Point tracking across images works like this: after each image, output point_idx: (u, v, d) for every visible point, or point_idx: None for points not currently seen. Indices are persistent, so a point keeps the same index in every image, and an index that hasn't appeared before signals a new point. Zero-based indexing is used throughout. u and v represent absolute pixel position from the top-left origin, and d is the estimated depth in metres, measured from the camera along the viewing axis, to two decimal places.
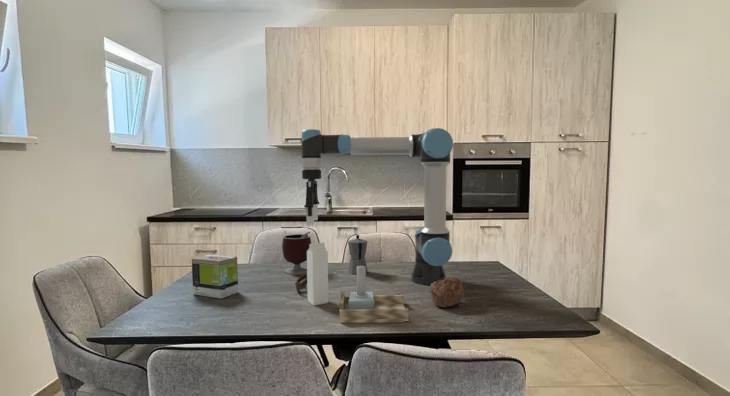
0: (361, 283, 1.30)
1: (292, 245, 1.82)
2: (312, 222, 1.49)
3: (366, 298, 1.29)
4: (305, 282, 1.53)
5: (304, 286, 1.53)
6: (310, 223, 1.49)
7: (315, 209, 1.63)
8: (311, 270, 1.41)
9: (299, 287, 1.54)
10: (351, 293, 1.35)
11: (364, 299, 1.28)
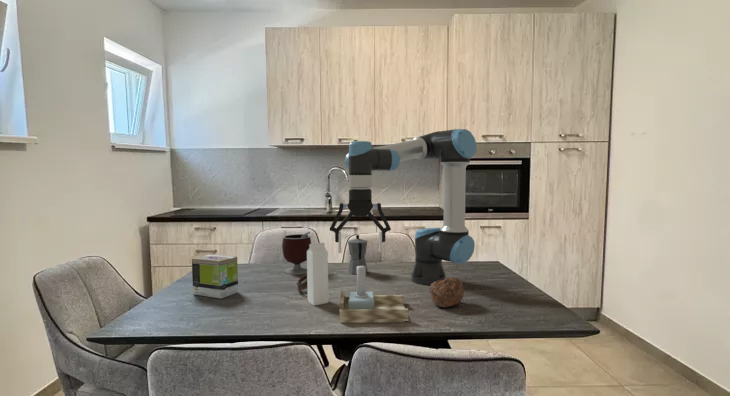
0: (361, 283, 1.30)
1: (292, 245, 1.82)
2: None
3: (366, 298, 1.29)
4: None
5: (306, 286, 1.52)
6: None
7: (379, 238, 1.30)
8: (311, 270, 1.41)
9: (301, 287, 1.53)
10: (351, 293, 1.35)
11: (364, 299, 1.28)
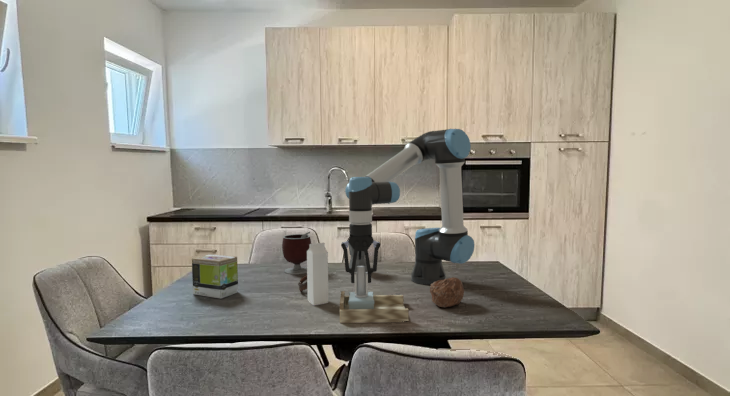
0: (361, 283, 1.30)
1: (292, 245, 1.82)
2: None
3: (366, 298, 1.29)
4: None
5: None
6: None
7: None
8: (311, 270, 1.41)
9: (302, 288, 1.53)
10: (351, 293, 1.35)
11: (364, 299, 1.28)
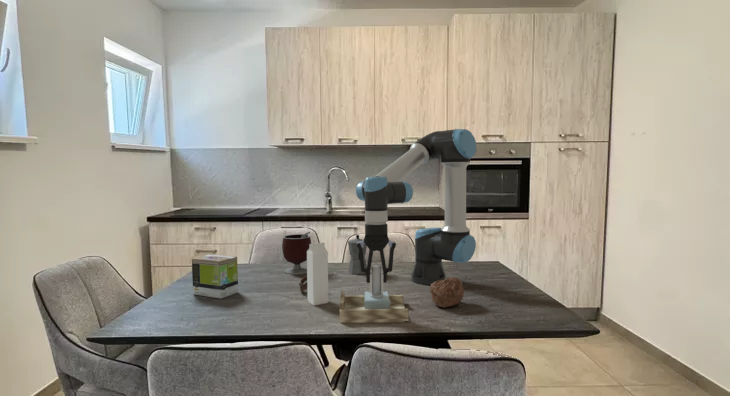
0: (376, 283, 1.30)
1: (292, 245, 1.82)
2: (370, 290, 1.31)
3: (382, 298, 1.29)
4: None
5: None
6: None
7: (381, 279, 1.31)
8: (311, 270, 1.41)
9: (303, 288, 1.53)
10: (366, 293, 1.35)
11: (380, 299, 1.28)
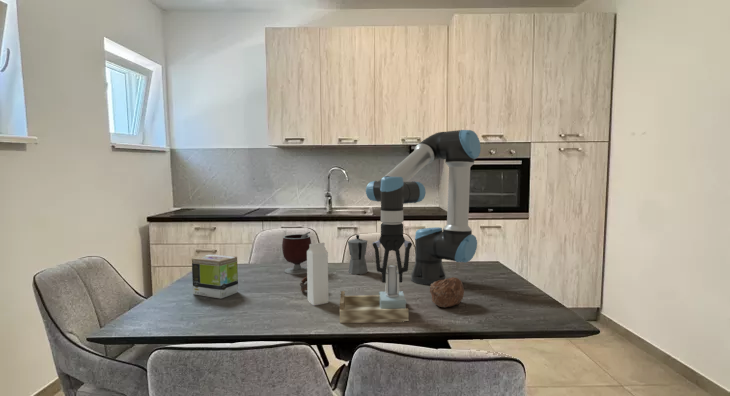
0: (392, 283, 1.30)
1: (292, 245, 1.82)
2: (385, 290, 1.31)
3: (398, 298, 1.29)
4: None
5: None
6: (385, 290, 1.32)
7: None
8: (311, 270, 1.41)
9: (304, 288, 1.53)
10: (381, 293, 1.35)
11: (396, 299, 1.29)
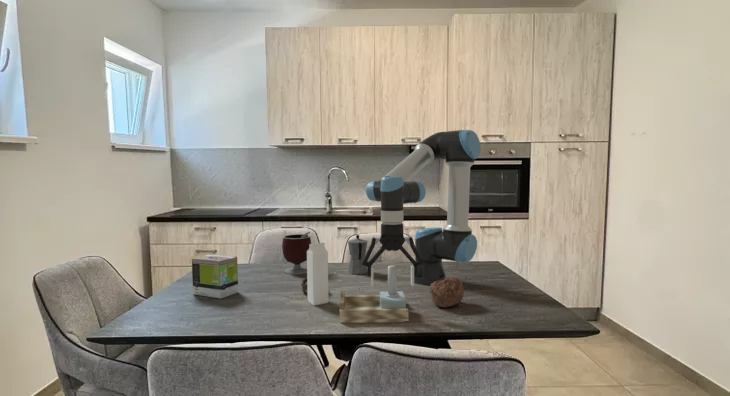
0: (392, 283, 1.30)
1: (292, 245, 1.82)
2: (371, 283, 1.31)
3: (398, 298, 1.29)
4: None
5: None
6: (371, 284, 1.32)
7: (411, 272, 1.31)
8: (311, 270, 1.41)
9: (306, 288, 1.52)
10: (381, 293, 1.35)
11: (396, 299, 1.29)
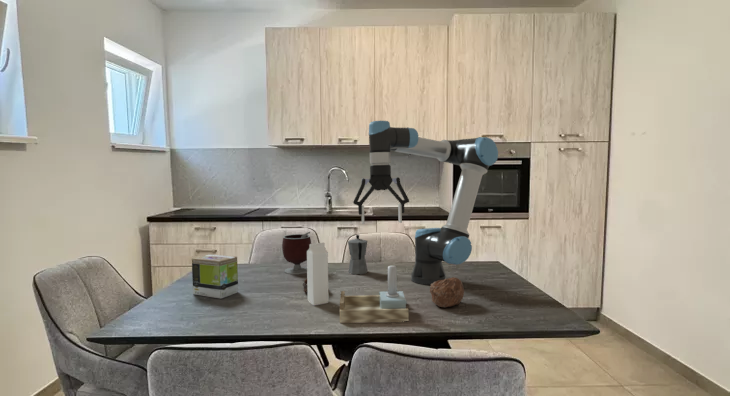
0: (392, 283, 1.30)
1: (292, 245, 1.82)
2: (362, 221, 1.41)
3: (398, 298, 1.29)
4: None
5: None
6: (362, 222, 1.42)
7: (399, 210, 1.42)
8: (311, 270, 1.41)
9: None
10: (381, 293, 1.35)
11: (396, 299, 1.29)
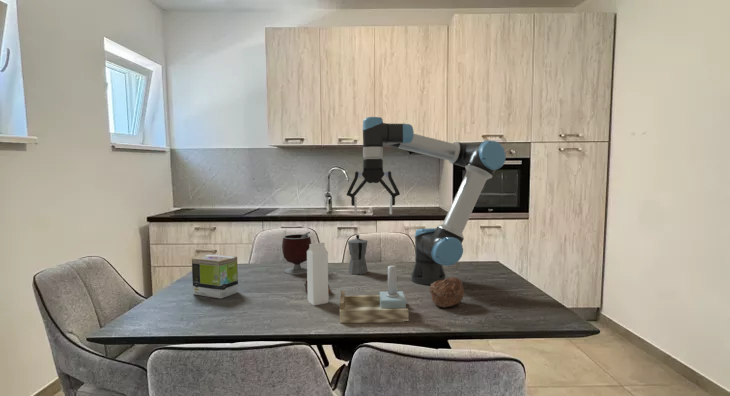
0: (392, 283, 1.30)
1: (292, 245, 1.82)
2: None
3: (398, 298, 1.29)
4: None
5: None
6: None
7: (390, 202, 1.49)
8: (311, 270, 1.41)
9: None
10: (381, 293, 1.35)
11: (396, 299, 1.29)
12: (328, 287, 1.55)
